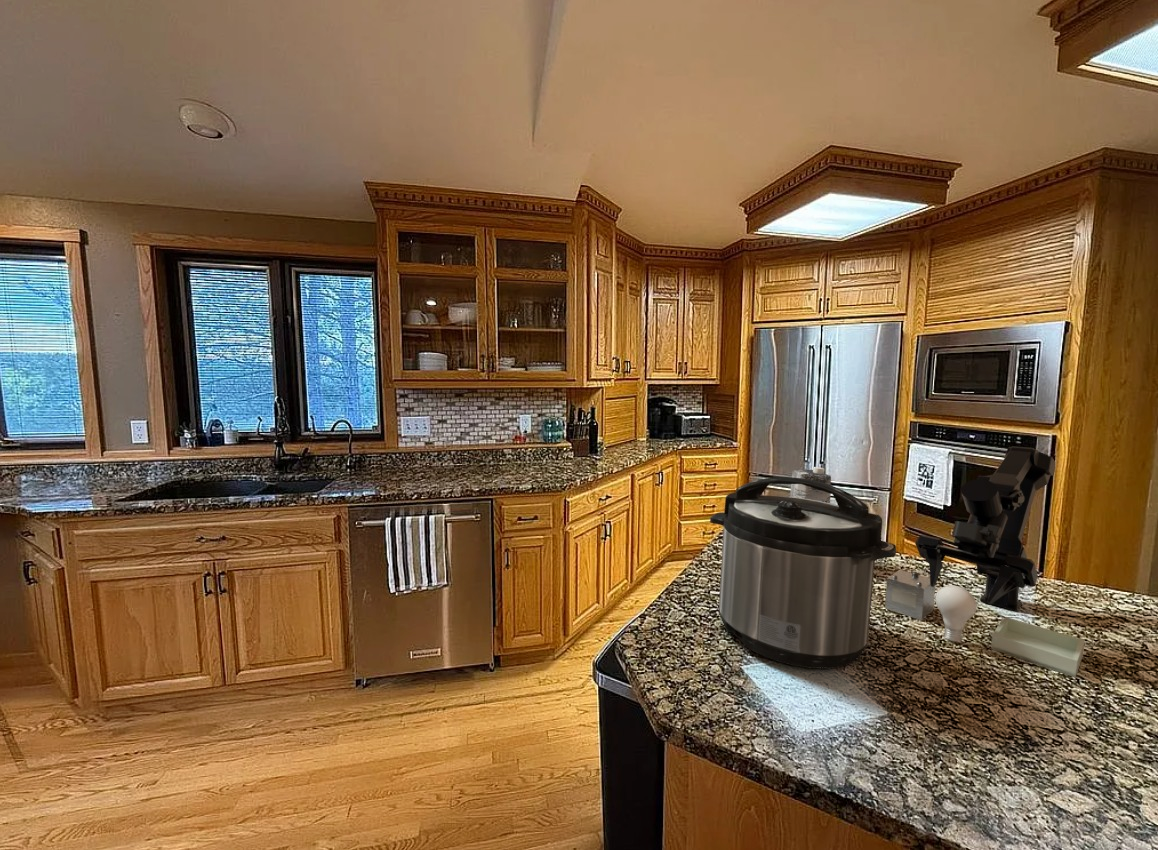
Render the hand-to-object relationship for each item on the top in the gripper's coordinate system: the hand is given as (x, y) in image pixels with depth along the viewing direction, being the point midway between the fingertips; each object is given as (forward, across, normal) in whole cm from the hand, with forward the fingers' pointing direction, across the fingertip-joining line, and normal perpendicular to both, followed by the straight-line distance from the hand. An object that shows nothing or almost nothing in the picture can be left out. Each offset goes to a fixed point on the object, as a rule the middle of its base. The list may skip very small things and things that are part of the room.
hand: (959, 593), depth 93 cm
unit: (+2, -11, +11) cm, 15 cm away
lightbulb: (+8, 0, +6) cm, 9 cm away
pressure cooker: (+25, -19, -12) cm, 34 cm away
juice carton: (-5, -40, +18) cm, 45 cm away
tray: (+1, +10, +12) cm, 16 cm away
